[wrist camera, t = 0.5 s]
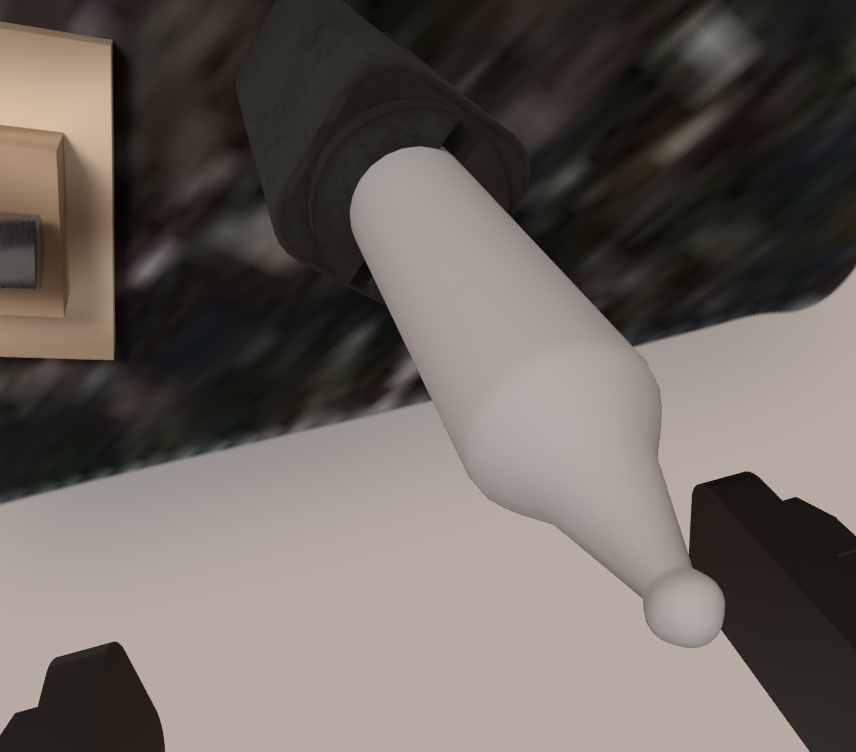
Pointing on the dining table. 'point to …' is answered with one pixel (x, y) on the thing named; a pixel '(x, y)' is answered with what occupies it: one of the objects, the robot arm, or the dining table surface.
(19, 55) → the shaft bench
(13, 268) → the shafts
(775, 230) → the dining table surface
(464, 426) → the black and grey bottle
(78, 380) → the dining table surface
